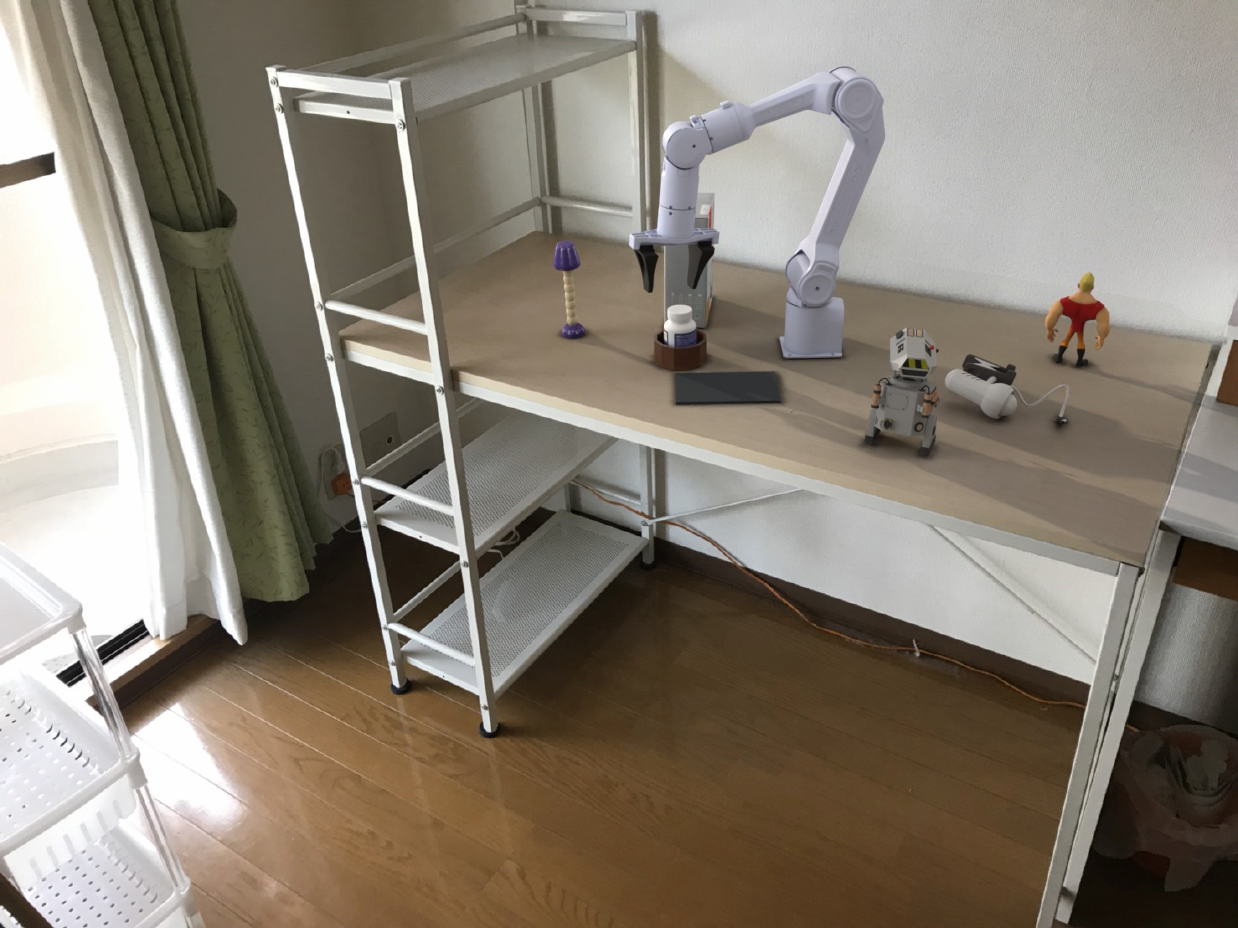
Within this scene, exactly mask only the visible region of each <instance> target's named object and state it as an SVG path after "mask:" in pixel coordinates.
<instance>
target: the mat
mask: <svg viewBox="0 0 1238 928" xmlns="http://www.w3.org/2000/svg"><path fill="white" fill-rule="evenodd" d="M674 397H675V401H674V403H675V405H719V404H720V405H721V404H722V405H725V404H773V403H774V404H778V403H779V404H781V403H782V398H781V395H780V389H779V385H778V380H777V375H776V371H774V370H773V371H772V370H768V371H725V372H724V371H720V372H719V371H718V372H717V371H716V372H715V371H714V372H674Z"/></svg>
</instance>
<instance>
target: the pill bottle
mask: <svg viewBox="0 0 1238 928" xmlns="http://www.w3.org/2000/svg"><path fill="white" fill-rule="evenodd" d="M691 318H692V308H691V307H690V306H687V305H674V306H671V307H669V308H668V319H669V320H667V321H666V322H665V324H663V329H664V345H667V346H672V347H688V346H692V345H695V344H696V328H697V327H696V323H695V321H694V320H692V319H691Z"/></svg>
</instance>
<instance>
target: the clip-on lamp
mask: <svg viewBox="0 0 1238 928" xmlns="http://www.w3.org/2000/svg"><path fill="white" fill-rule="evenodd" d="M961 367H962V369H960V368H955V369H952V370H950V371H948V373H947V375H946V376H945V379H944V384H945V388H946V389H947V390H948V391H950V392H952V393H954V394H956V395H958V396H960V397H962V398H964V399H966V400H968V401H970V402H972V403H974V404H976V405H977V406H979V407H980V409H981V410H982V412H983V414H985V415H986V416H988V417H989V418H992V419H996V420H997V419H1000V418H1001V417H1004V416H1009V415H1011V414H1012V415H1013V413H1014V412H1015V411H1016V409H1017V407H1018V400H1017V398H1016V396H1015V395H1014V394H1015V393H1016V395H1017V396H1018V398H1019V400H1020V402H1021V404H1022V405H1023V406H1024V407H1025V408H1028V409H1030V408H1033V407H1036V406H1038V405H1039V404H1041V403H1042V402H1043V401H1044V400H1046V399H1047V398H1048V397H1050V396H1051V395H1052V394H1053V393H1055V392H1056V391H1058V390H1059V389H1061V388H1065V389H1066V395H1065V398H1064V401H1063V404H1062V405H1061V409H1060V411H1059V413H1058V416H1057V417H1056V420H1055V421H1057V423H1058V424H1060V425H1063V424H1066V425H1067V424H1068V423H1069V418H1066V417H1064V413H1065V410H1066V407H1067V405H1068V401H1069V398H1070V393H1071V391H1070V390H1071V389H1070V386H1069V385H1068V384H1066V383H1065V384H1060V385H1057V386H1056V387H1054V388H1052V389H1051V390H1049V392H1047V393H1046V394H1044V395H1043V396H1042V397H1040V399H1038V400H1036V401H1035V402H1033V403H1030V404H1029V403H1027V402H1026V401H1025V400H1024V398H1023V396H1022V393H1021V392H1020V390H1019V389H1018V388H1017V387H1015V386H1013V382H1014V381H1015V379H1016V376H1017V371H1016V369H1017V366H1016V365H1014V364H1012V363H1008V364H1007V365H1006V367H1005V366H1002V365H1000V364H997V363H994V362H992V361H991V360H987V359H984V358H982V357H979V356H977V355H975V354H972V353H969V354H967V355H966V356H965V358H964V360H963V362H962V365H961Z"/></svg>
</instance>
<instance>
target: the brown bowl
mask: <svg viewBox="0 0 1238 928" xmlns="http://www.w3.org/2000/svg"><path fill="white" fill-rule="evenodd" d="M653 351H654V354H653V356H654V359H653V360H654V363H655V364H656V365H657V366H658V367H660V368H661V369H665V370H670V371H690V370H693V369H698V368H701V367H702V366H703V365H704V364H705V363H707V361H708V337H707V333H706V332H705V331H703V330H701V329H700V328H698V327H696V344H695V345H692V346H688V347H672V346H667V345H664V328H662V329H660V330H659V331H657V332H656V333H655V334H654V335H653Z"/></svg>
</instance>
